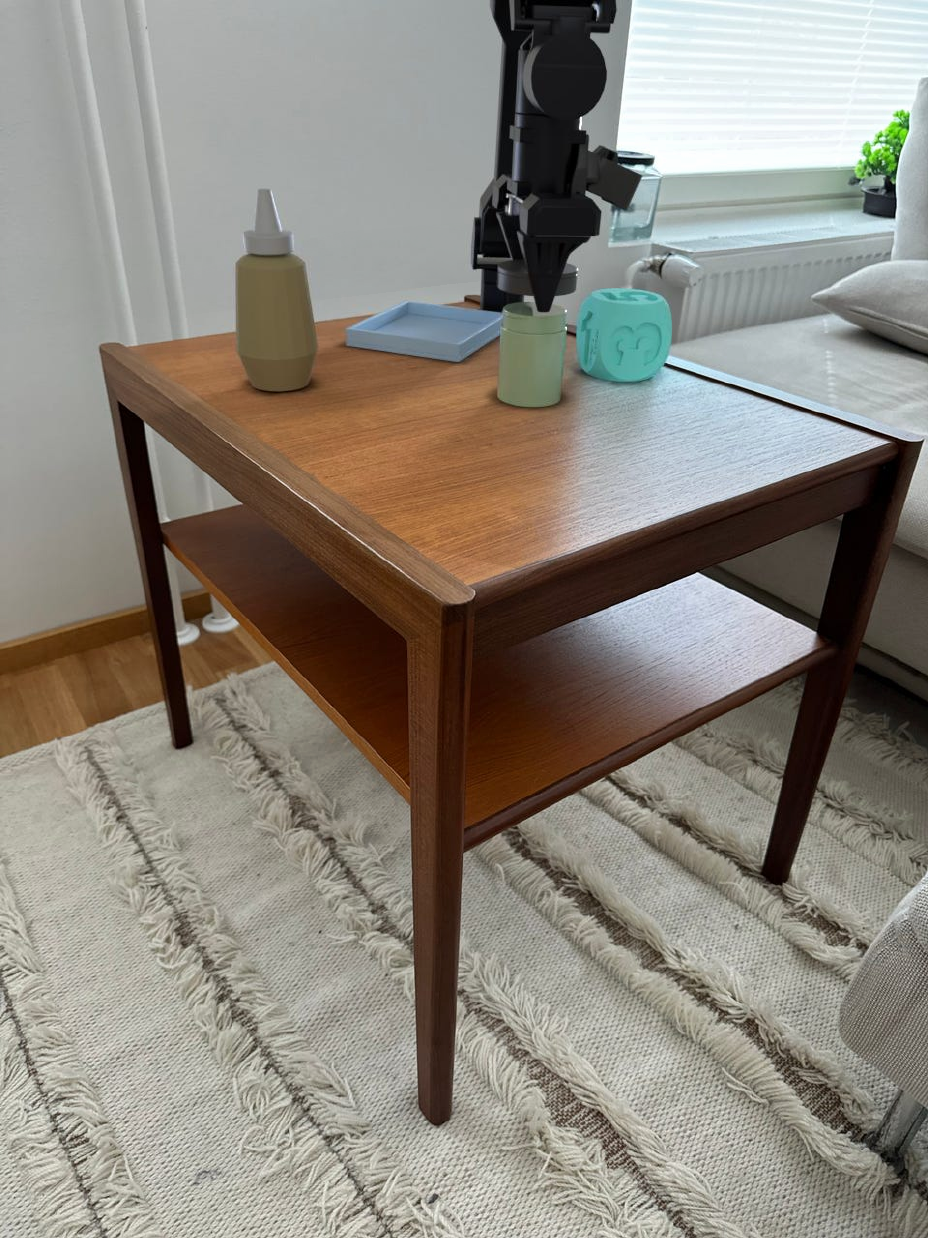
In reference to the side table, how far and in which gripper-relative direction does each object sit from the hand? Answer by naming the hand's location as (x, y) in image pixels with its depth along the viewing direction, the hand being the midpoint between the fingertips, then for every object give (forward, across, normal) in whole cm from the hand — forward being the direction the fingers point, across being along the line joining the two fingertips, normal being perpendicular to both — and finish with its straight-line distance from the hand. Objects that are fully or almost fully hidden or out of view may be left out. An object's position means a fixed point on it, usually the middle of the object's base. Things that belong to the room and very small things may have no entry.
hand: (535, 302), depth 85 cm
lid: (-3, 0, 0) cm, 3 cm away
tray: (+9, +23, +8) cm, 26 cm away
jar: (+9, 0, 0) cm, 9 cm away
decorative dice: (+9, +8, -12) cm, 17 cm away
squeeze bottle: (+9, +5, +25) cm, 27 cm away
